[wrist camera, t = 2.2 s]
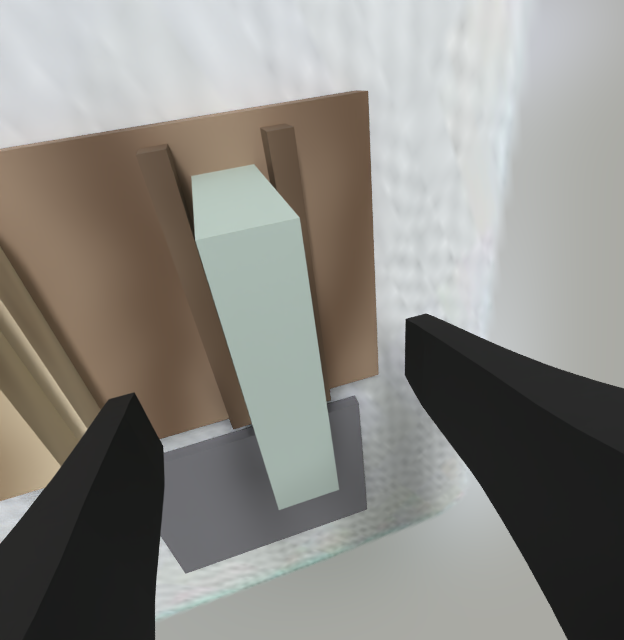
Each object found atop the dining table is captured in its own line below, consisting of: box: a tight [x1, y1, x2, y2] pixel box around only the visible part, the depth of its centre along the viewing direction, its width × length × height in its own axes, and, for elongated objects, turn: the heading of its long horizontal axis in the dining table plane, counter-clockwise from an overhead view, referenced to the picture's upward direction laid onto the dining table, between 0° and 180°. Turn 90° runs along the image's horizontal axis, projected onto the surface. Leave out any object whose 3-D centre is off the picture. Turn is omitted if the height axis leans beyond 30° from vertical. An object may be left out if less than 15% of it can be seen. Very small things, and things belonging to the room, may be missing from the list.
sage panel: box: [191, 164, 339, 510], centre depth 12 cm, size 2×9×6 cm, turn 8°
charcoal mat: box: [160, 396, 367, 573], centre depth 22 cm, size 12×10×1 cm
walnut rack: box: [0, 91, 378, 439], centre depth 14 cm, size 18×12×2 cm, turn 98°
